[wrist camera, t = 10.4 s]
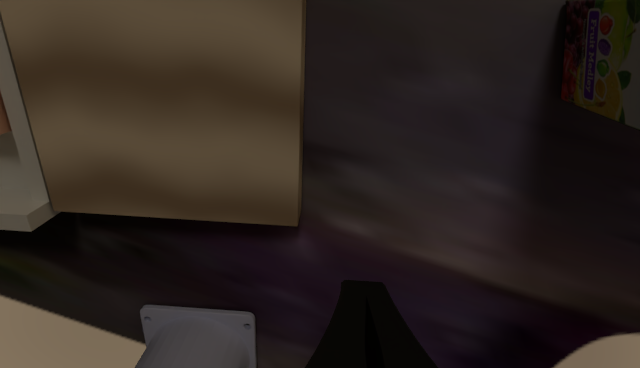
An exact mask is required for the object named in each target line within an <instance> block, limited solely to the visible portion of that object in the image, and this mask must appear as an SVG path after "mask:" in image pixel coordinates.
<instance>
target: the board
mask: <svg viewBox="0 0 640 368" xmlns="http://www.w3.org/2000/svg"><path fill="white" fill-rule="evenodd" d="M0 12H1V16H2V20H3V23H4V27H5V31H6V34H7V38H8V42H9V46H10V49H11V53H12V57H13V61H14V64H15V68H16V72H17V75H18V79H19V83H20V87H21V90H22V94H23V98H24V101H25V105H26V109H27V113H28V116H29V120H30V124H31V127H32V131H33V135H34V139H35V142H36V146H37V150H38V153H39V157H40V161H41V165H42V168H43V172H44V176H45V180H46V183H47V187H48V191H49V194H50V198H51V202H52V206H53V209H54V211H62V212H78V213H93V214H109V215H125V216H141V217H157V218H173V219H188V220H204V221H220V222H236V223H252V224H268V225H283V226H298V222H299V218H300V213H301V195H302V153H303V111H304V69H305V27H306V0H0Z"/></svg>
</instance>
